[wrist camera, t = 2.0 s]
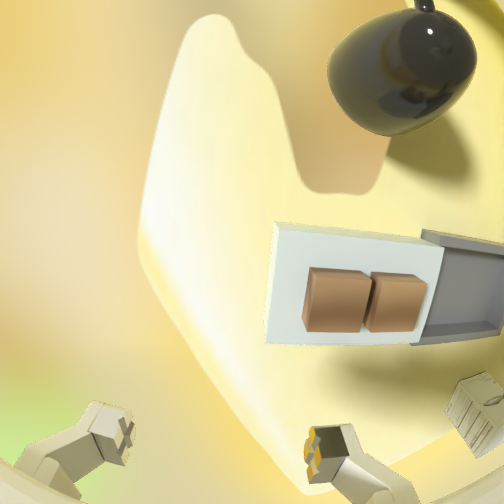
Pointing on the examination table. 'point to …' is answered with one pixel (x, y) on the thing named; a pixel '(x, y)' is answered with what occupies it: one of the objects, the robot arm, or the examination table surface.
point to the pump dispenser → (402, 69)
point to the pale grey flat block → (340, 257)
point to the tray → (465, 290)
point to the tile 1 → (335, 300)
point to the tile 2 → (393, 302)
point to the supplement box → (478, 412)
